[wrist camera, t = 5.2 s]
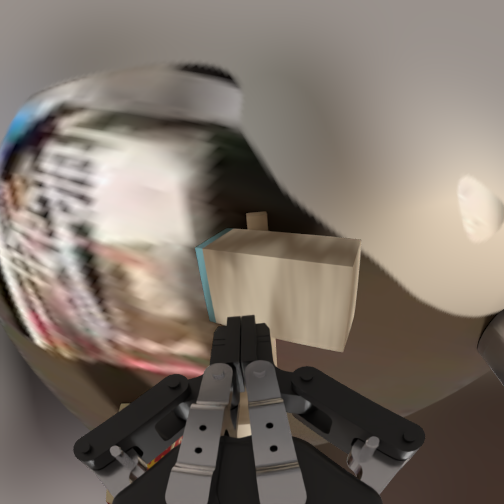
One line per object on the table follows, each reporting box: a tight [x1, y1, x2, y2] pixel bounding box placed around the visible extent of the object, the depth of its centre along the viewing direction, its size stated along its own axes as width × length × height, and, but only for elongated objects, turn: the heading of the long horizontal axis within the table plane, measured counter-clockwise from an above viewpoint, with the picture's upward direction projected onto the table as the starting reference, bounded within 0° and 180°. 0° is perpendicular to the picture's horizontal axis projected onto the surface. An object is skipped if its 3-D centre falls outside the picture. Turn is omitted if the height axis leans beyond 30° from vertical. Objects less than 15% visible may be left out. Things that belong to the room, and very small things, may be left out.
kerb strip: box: [246, 211, 277, 367], centre depth 24 cm, size 2×19×1 cm, turn 5°
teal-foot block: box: [195, 228, 361, 352], centre depth 18 cm, size 4×6×10 cm
